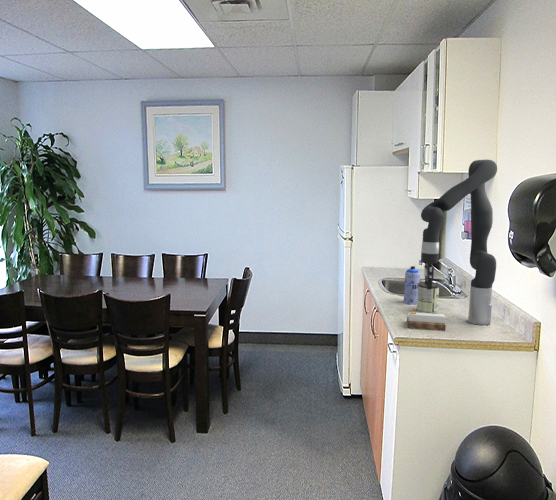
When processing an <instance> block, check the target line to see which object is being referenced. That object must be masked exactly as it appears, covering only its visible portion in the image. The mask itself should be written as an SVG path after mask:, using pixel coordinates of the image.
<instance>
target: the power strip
mask: <svg viewBox="0 0 556 500" xmlns="http://www.w3.org/2000/svg"><path fill="white" fill-rule="evenodd" d="M407 316H408V320H409V321H418V322H432V323H445V324H446V321H447V317H446V314H443V313H442V314H441V313H435V314H430V313H420V312H417V311H408V314H407Z"/></svg>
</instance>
